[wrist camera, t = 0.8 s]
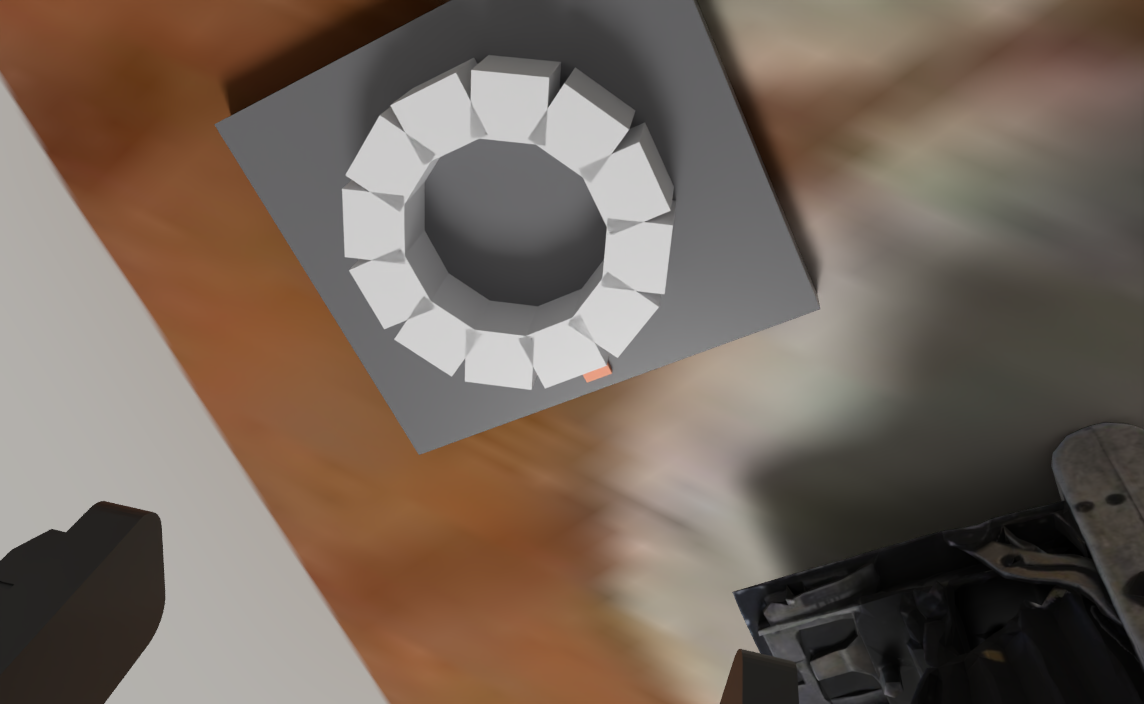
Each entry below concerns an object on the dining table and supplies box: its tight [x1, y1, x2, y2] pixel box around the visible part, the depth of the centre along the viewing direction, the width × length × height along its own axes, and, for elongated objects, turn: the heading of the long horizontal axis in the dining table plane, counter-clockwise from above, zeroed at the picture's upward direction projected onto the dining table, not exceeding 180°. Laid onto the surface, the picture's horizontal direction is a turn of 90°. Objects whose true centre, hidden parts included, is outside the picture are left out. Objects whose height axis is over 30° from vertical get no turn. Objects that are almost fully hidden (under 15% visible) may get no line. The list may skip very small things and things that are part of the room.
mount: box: [214, 0, 820, 455], centre depth 33 cm, size 16×14×4 cm
